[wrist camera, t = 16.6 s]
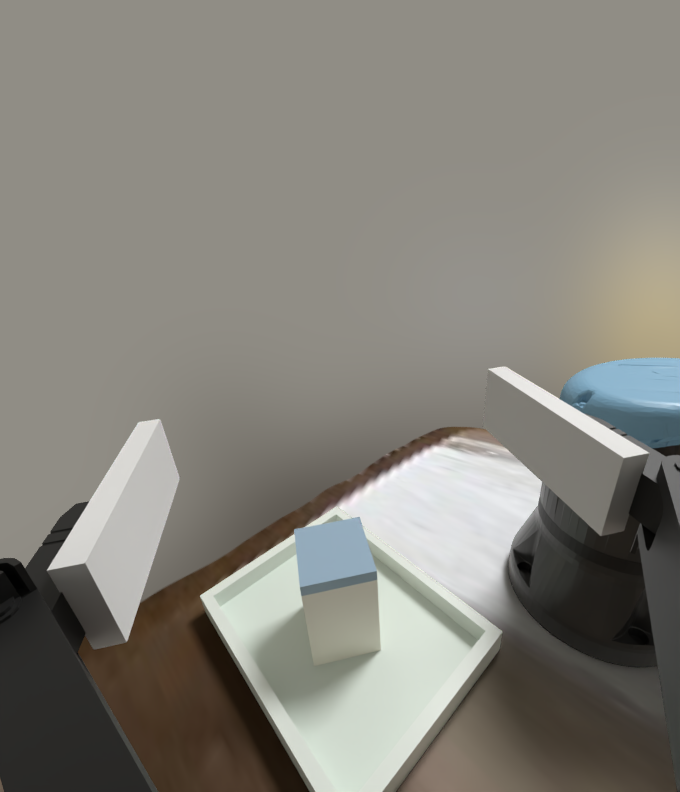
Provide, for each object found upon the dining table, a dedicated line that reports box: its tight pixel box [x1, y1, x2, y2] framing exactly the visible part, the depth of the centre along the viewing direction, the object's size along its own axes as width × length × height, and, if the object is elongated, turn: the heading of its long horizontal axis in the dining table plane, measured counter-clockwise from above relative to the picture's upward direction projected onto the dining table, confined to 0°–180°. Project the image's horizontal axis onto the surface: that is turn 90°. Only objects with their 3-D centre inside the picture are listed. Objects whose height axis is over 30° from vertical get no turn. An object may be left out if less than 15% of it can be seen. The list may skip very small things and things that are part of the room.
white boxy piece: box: [294, 517, 381, 666], centre depth 34 cm, size 6×6×10 cm
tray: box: [200, 507, 503, 792], centre depth 36 cm, size 18×22×2 cm
